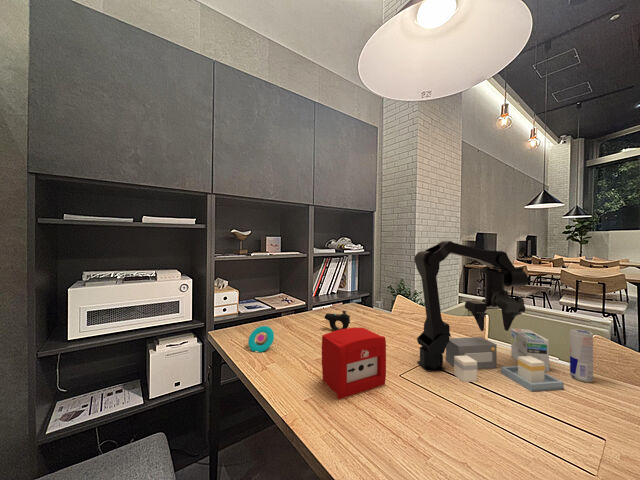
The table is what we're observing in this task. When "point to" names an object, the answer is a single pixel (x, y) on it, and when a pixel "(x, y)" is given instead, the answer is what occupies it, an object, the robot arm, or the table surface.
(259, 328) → the ornament
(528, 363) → the cream taped block
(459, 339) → the block
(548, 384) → the tray
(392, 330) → the table surface
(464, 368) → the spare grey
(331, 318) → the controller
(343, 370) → the fire alarm
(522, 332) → the light bulb box
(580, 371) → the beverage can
